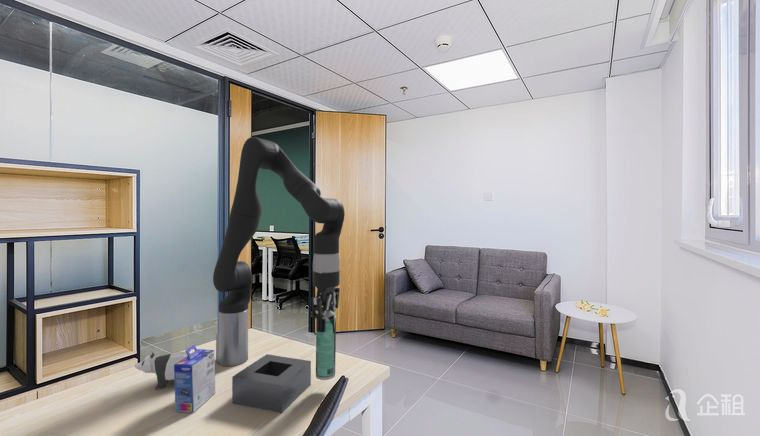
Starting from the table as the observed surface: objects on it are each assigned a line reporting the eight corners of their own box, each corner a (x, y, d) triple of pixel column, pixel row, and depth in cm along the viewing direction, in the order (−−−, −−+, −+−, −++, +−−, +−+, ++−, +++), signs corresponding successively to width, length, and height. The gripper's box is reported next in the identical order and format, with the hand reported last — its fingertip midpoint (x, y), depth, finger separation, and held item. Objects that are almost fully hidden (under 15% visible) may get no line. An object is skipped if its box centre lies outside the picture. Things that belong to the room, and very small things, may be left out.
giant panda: (195, 376, 105) (195, 345, 105) (192, 384, 100) (192, 352, 100) (138, 384, 100) (138, 351, 100) (132, 393, 95) (132, 359, 95)
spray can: (338, 372, 100) (339, 303, 99) (329, 381, 94) (330, 308, 94) (321, 369, 101) (322, 302, 101) (312, 378, 96) (312, 306, 96)
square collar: (232, 402, 91) (232, 376, 91) (266, 376, 105) (266, 354, 105) (281, 413, 86) (282, 385, 86) (310, 384, 101) (310, 360, 101)
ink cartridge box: (197, 391, 96) (197, 340, 96) (216, 392, 96) (216, 341, 96) (172, 412, 86) (172, 354, 86) (193, 413, 86) (193, 356, 86)
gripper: (325, 264, 105) (324, 319, 106) (301, 272, 91) (301, 335, 92) (348, 266, 103) (347, 322, 103) (327, 274, 89) (326, 339, 90)
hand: (325, 328), depth 98 cm, fingers closed on spray can, 5 cm apart
